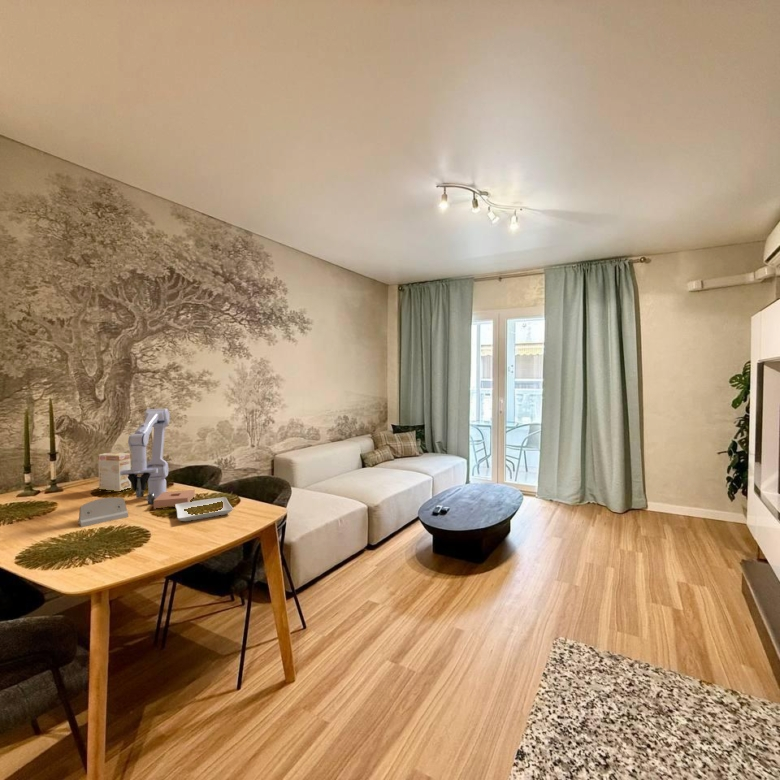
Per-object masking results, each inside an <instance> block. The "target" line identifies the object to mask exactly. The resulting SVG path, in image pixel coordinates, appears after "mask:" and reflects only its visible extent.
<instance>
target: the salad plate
mask: <svg viewBox="0 0 780 780" xmlns="http://www.w3.org/2000/svg"><path fill="white" fill-rule="evenodd" d="M221 501H222V502H223V508H222V509H221V510H218V511H215V512H209V513H203V514H198V515H195V514H193V515H191V514H188V512H187V511H184V509H188V508H191V507H197V506H203V505H209V504H213V503H217V502H221ZM175 509H176V518H177V520H179V521H181V522H191V520H193V521H197V519H199V520H204V519H210V518H215V517H220V516H219V515H221V516H223V515H228V514H230V513H231V512H233V510H234V508H233V506H232V505H231V504H230V502H229V500H228V498H227V497H226V496H222V497H221V496H220V497H213V498H208V499H207V498H206V499H200V500H193V501H192V502H186V503H180V504H175ZM214 516H215V517H214ZM209 517H210V518H209ZM203 518H204V519H203Z"/></svg>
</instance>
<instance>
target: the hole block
mask: <svg viewBox="0 0 780 780" xmlns="http://www.w3.org/2000/svg"><path fill="white" fill-rule="evenodd" d="M195 494H196V493H195V489H189V490H188V489H187V490H186V489H185V490H174V491H167V492H163V493H161V494H160V495H159V496H158V497H157V498H154V499H155V500H153V501H154V504H153V510H157V509H156V508H161V507H167V506H174V505H175V504H180V503H186V502H190V500H191V499H192V498H193V497H194V496H195ZM195 497H196V496H195Z"/></svg>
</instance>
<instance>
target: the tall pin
mask: <svg viewBox="0 0 780 780" xmlns="http://www.w3.org/2000/svg"><path fill="white" fill-rule="evenodd" d="M144 491H145V490H142V478H141V475H138V476H137V477H136V491H135V494H136V495H135V496H136V498H142V497H144V496H145V495H144V493H145V492H144Z"/></svg>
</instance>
